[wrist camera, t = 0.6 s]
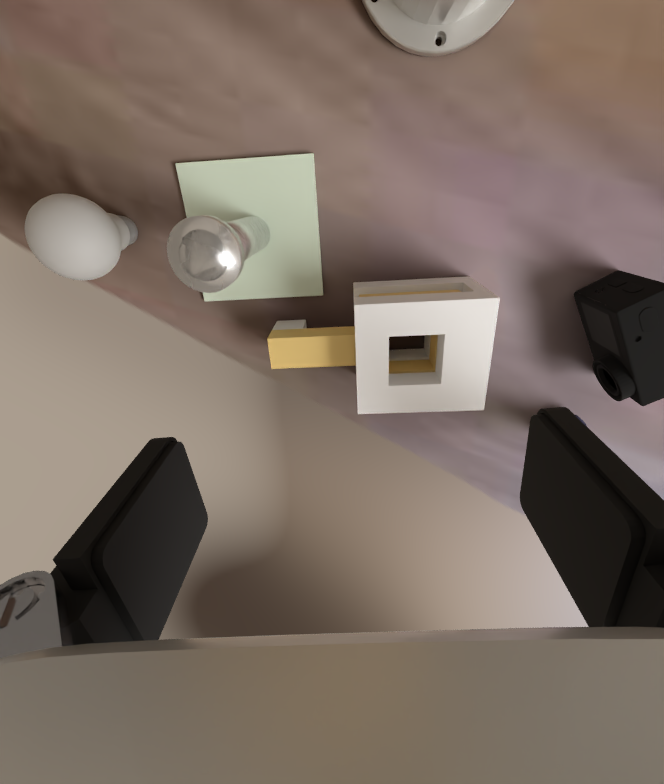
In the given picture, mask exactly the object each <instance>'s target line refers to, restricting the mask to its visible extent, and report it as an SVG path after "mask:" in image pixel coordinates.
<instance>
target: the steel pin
mask: <svg viewBox="0 0 664 784" xmlns="http://www.w3.org/2000/svg"><path fill="white" fill-rule="evenodd" d="M269 240H270V230H269V227H268V225H267V224H266V222H265V221H264V220H262V219H261V218H259V217H256V216H249V217H245V218H241V219H237V220H233V221H229V222H225V221H223V220H222V219H219V218H217V217H214V216H210V215H199V216H193V217H188V218H185V219H183V220H181V221H180V222H179V223H177V224H176V225H175V226H174V228H173V229H172V231H171V233H170V235H169V238H168V242H167V255H168V260H169V263H170V265H171V268H172V269H173V271H174V273H175V274H176V275H177V277H178V278H179V279H180V280H181V281H182V282H183V283H184V284H186V285H187V286H188V287H190V288H192V289H194V290H197V291H200V292H205V293H213V292H218V291H221V290H223V289H225V288H227V287H228V286H229V285H231V284H232V283H233V282H234V281H235V280H236V279H237V278H238V277H239V275H240V274H241V272H242V269H243V266H244V261H246V260H247V259H249V258H250V257H252V256H253V255H255V254H256V253H258V252H259V251H261V250H262V249H264V248H265V247H266V246H267V245H268V243H269Z"/></svg>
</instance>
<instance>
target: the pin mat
mask: <svg viewBox="0 0 664 784" xmlns="http://www.w3.org/2000/svg"><path fill="white" fill-rule="evenodd" d="M175 165H176V169H177V174H178V179H179V183H180V188H181V193H182V198H183V202H184V207H185V212H186V216H187V218H188V217H193V216H199V215H210V216H214V217H217V218H219V219H222V220H223V221H225V222H229V221H233V220H237V219H241V218H245V217H249V216H256V217H259V218H261V219H262V220H264V221H265V222H266V224H267V225H268V227H269V230H270V240H269V243H268V245H267V246H266V247H265V248H264V249H262V250H261V251H259V252H258V253H256V254H255V255H253V256H252V257H250V258H249V259H247V260H246V261H244V266H243V269H242V272H241V274H240V275H239V277H238V278H237V279H236V280H235V281H234V282H233V283H232V284H231V285H229V286H228V287H227V288H225V289H223V290H221V291H218V292H213V293H205V292H203V296H204V301H223V300H243V299H262V298H282V297H302V296H322V295H323V281H322V266H321V252H320V238H319V223H318V209H317V194H316V180H315V165H314V154H313V153H310V154H296V155H283V156H269V157H255V158H242V159H228V160H215V161H201V162H187V163H175Z"/></svg>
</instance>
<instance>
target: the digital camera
mask: <svg viewBox="0 0 664 784" xmlns="http://www.w3.org/2000/svg"><path fill="white" fill-rule="evenodd" d="M601 287H602V288H601ZM603 288H604V289H603ZM602 289H603V291H602ZM601 291H602V292H601ZM595 292H596V293H595ZM598 292H599V293H598ZM579 293H580V294H579ZM574 297H575V301H576V304H577V307H578V310H579V313H580V316H581V320H582V323H583V326H584V329H585V332H586V335H587V339H588V342H589V345H590V348H591V351H592V354H593V357H594V360H595V361H594V362H593V370H594V373H595V375H596V377H597V379H598V381H599V383H600V384H601V386H602V387H603V389H604V390H605V391H606V392H607V394H608V395H609V396H610V397H612V398H613V399H614V400H616V401H622V400H624V399H626V398H629V397H630V398H632V399H633V400H634V401H636V402H637V403H639V404H640V405H641V406H645V405H647V404H650V403H652V402H655V401H657V400H660V399H662V398H664V283H662V282H659V281H655V280H651V279H648V278H644V277H641V276H637V275H634V274H630V273H627V272H623V271H619V270H618V271H616V272H614V273H612V274H610V275H608V276H606V277H604V278H602V279H600V280H598V281H596V282H594V283H592V284H590V285H588V286H586V287H584V288H582V289H580V290H578V291H576V292H575V293H574ZM593 299H594V300H593Z"/></svg>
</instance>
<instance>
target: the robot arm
mask: <svg viewBox="0 0 664 784" xmlns="http://www.w3.org/2000/svg"><path fill="white" fill-rule="evenodd" d="M362 2H363V5H364V7H365V9H366V11H367V12H368V14H369V16H370V18H371V20H372V22H373V23H374V24H375V26H376V27H377V28H378V29H379V31H380V32H381V33H382V35H383V36H385V37H386V38H387V39H388V40H389V41H390V42H392V43H393V44H394V45H395V46H397V47H399V48H401V49H403V50H405V51H407V52H409V53H411V54H416V55H420V56H425V57H430V56H444V55H448V54H451V53H455V52H458V51H460V50H462V49H464V48H466V47H468V46H470V45H472V44H473V43H475V42H476V41H477V40H478V39H480V38H481V37H482V36H484V35H485V34H486V33H487V32H488V31H489V30H490V29H491V28H492V27H493V26H494V25H495V24H496V23H497V22H498V21H499V20H500V19H501V17H502V16H503V15H504V14H505V12H506V11H507V10H508V8H509V7H510V6H511V5H512V3H513V2H514V0H378V1H377V2H375V3H374V2H372V1H371V0H362ZM436 39H440V40H441V45H440V46H437V45H436V44H435V40H436ZM520 502H521V506H522V508H523V511H524V512H525V514H526V516H527V518H528V519H529V521H530V523H531V525H532V527H533V528H534V530H535V532H536V534H537V535H538V537H539V539H540V541H541V543H542V544H543V546H544V548H545V549H546V551H547V553H548V555H549V557H550V558H551V560H552V562H553V564H554V565H555V567H556V569H557V571H558V573H559V574H560V576H561V578H562V580H563V582H564V583H565V585H566V587H567V589H568V591H569V592H570V594H571V596H572V598H573V599H574V601H575V603H576V605H577V606H578V608H579V610H580V612H581V613H582V615H583V617H584V619H585V620H586V623H587V624H588V626H589V627H553V628H552V627H549V628H509V629H472V630H433V631H399V632H369V633H368V632H366V633H336V634H335V633H334V634H305V635H304V634H303V635H273V636H247V637H219V638H193V639H168V640H167V639H166V640H158V639H159V637H160V635H161V632H162V630H163V628H164V625H165V623H166V621H167V618H168V616H169V614H170V611H171V609H172V607H173V604H174V602H175V599H176V597H177V595H178V593H179V590H180V588H181V586H182V583H183V581H184V578H185V576H186V574H187V571H188V569H189V567H190V564H191V562H192V560H193V557H194V555H195V553H196V550H197V548H198V546H199V543H200V541H201V539H202V536H203V534H204V532H205V529H206V526H207V522H208V517H207V512H206V509H205V506H204V503H203V500H202V497H201V494H200V491H199V489H198V486H197V483H196V480H195V477H194V474H193V471H192V468H191V466H190V462H189V459H188V457H187V454H186V451H185V448H184V445H183V444H182V443H181V442H177V440H176V439H175V438H173V437H167V438H154V439H151V440H150V441H149V442H148V443H147V444H146V445H145V447H144V448H143V449H142V450H141V452H140V453H139V454H138V455H137V457H136V458H135V459H134V460H133V461H132V463H131V464H130V465H129V466H128V468H127V469H126V470H125V472H124V473H123V474H122V475H121V476H120V478H119V479H118V480H117V481H116V482H115V484H114V485H113V486H112V487H111V489H110V490H109V491H108V492H107V494H106V495H105V496H104V497H103V498H102V500H101V501H100V502H99V503H98V505H97V506H96V507H95V508H94V509H93V511H92V512H91V513H90V514H89V516H88V517H87V518H86V519H85V520H84V522H83V523H82V524H81V526H80V527H79V528H78V529H77V531H76V532H75V533H74V534H73V535H72V537H71V538H70V539H69V540H68V541H67V543H66V544H65V545H64V546H63V548H62V549H61V550H60V551H59V552H58V554H57V555H56V556H55V557H54V559H53V561H54V562H55V564H56V565H57V566H56V567H55V568H54V570H53V571H52V572H51V573H50V574H49V573H48V572H45V571H32V572H27V573H23V574H21V575H19V576H16V577H14V578H11V579H10V580H8V581H6V582H4V583H3V584H1V585H0V784H664V500H663V499H662V498H661V497H660V496H659V495H658V494H657V493H655V492H654V491H653V490H652V489H651V488H650V487H649V486H648V485H647V484H646V483H645V482H644V481H643V480H642V479H641V478H640V477H639V476H638V475H637V474H636V473H635V472H634V471H632V470H631V469H630V468H629V467H628V466H627V465H626V464H625V463H624V462H623V461H622V460H621V459H620V458H619V457H618V456H617V455H616V454H615V453H614V452H613V451H612V450H611V449H610V448H608V447H607V446H606V445H605V444H604V443H603V442H602V441H601V440H600V439H599V438H598V437H597V436H596V435H595V434H594V433H593V432H592V431H591V430H590V429H589V428H588V427H587V426H586V425H584V424H583V423H582V422H581V421H580V420H579V419H578V418H577V417H576V416H575V415H574V414H573V413H572V412H571V411H570V410H569V409H567V408H566V407H559V408H546V409H540V410H539V412H538V414H537V415H533V416H532V417H531V421H530V427H529V434H528V441H527V449H526V456H525V463H524V470H523V477H522V484H521V491H520Z"/></svg>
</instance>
